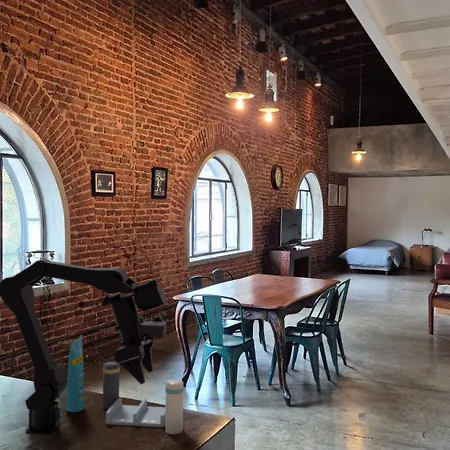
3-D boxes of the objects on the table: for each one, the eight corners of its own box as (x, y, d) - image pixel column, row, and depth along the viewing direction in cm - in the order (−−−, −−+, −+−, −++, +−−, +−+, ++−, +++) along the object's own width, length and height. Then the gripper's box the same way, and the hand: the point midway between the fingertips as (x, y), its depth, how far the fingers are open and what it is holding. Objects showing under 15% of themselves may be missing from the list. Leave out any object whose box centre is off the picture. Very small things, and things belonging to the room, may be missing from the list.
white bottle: (163, 433, 122) (163, 385, 122) (166, 426, 127) (167, 379, 127) (181, 435, 122) (181, 386, 122) (184, 427, 126) (185, 380, 126)
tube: (80, 414, 133) (81, 343, 133) (62, 414, 133) (63, 342, 133) (87, 404, 141) (88, 336, 141) (69, 403, 141) (70, 336, 140)
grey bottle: (100, 409, 137) (100, 366, 137) (105, 403, 142) (106, 361, 141) (116, 410, 137) (116, 366, 137) (121, 404, 141) (121, 362, 141)
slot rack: (105, 424, 128) (106, 412, 127) (119, 407, 138) (119, 397, 138) (163, 427, 126) (163, 415, 126) (172, 410, 137) (172, 399, 137)
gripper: (149, 314, 113) (171, 379, 113) (164, 301, 132) (183, 357, 132) (104, 329, 114) (125, 394, 114) (125, 314, 133) (143, 369, 132)
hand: (147, 377), depth 123 cm, fingers open, 9 cm apart
